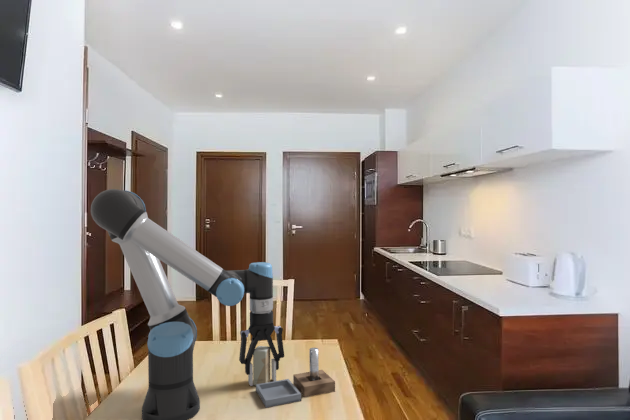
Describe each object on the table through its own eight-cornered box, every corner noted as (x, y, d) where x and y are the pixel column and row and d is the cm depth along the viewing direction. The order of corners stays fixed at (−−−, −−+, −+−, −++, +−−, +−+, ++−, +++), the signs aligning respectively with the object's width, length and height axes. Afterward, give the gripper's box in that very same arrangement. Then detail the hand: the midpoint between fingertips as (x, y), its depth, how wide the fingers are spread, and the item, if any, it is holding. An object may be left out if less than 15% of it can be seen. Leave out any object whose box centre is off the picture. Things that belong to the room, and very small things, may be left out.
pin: (311, 390, 126) (311, 351, 126) (308, 386, 129) (308, 348, 129) (320, 388, 127) (319, 349, 127) (316, 385, 130) (316, 347, 130)
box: (265, 386, 129) (265, 351, 129) (252, 385, 130) (252, 350, 130) (270, 379, 134) (270, 346, 134) (258, 378, 135) (258, 345, 135)
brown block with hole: (304, 397, 121) (304, 387, 121) (293, 383, 131) (293, 374, 131) (335, 391, 125) (335, 381, 125) (322, 378, 134) (322, 369, 134)
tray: (265, 407, 115) (265, 400, 115) (255, 390, 126) (255, 384, 126) (301, 400, 119) (301, 393, 119) (288, 385, 130) (288, 378, 130)
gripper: (232, 316, 125) (233, 392, 125) (294, 310, 132) (295, 381, 132) (228, 311, 132) (229, 382, 132) (287, 305, 139) (288, 372, 139)
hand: (262, 381), depth 132 cm, fingers open, 7 cm apart
